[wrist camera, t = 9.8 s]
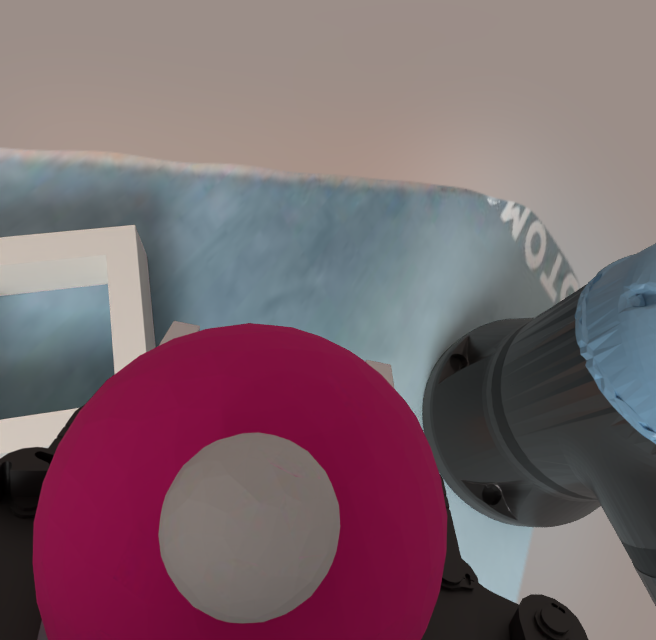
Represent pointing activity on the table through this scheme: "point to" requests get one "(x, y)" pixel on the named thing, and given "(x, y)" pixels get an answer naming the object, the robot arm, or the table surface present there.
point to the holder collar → (71, 272)
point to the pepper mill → (241, 499)
